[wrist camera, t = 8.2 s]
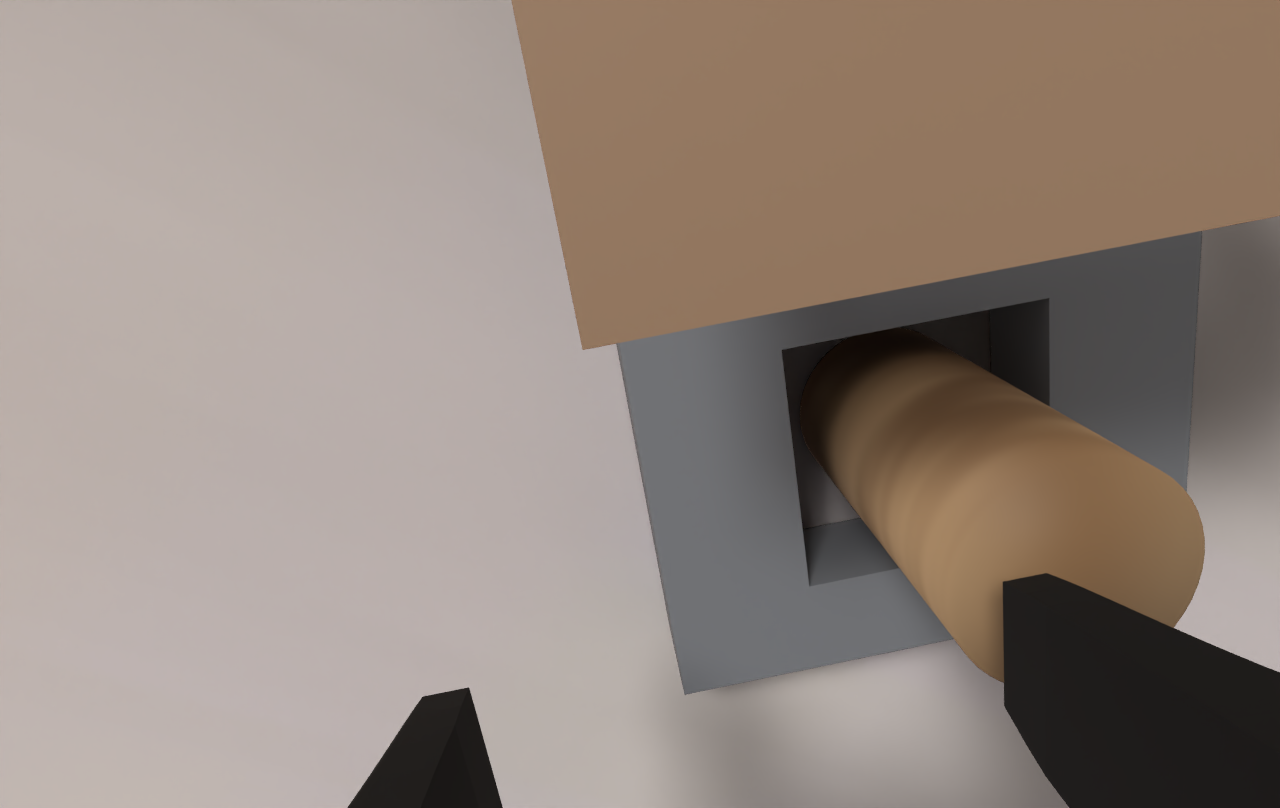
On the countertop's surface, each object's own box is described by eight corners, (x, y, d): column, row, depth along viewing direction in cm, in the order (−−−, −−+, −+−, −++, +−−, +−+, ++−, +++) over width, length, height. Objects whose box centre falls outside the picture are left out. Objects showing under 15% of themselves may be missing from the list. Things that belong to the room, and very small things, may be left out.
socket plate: (1131, 537, 22) (1700, 948, 11) (651, 635, 21) (748, 1163, 10) (1156, -171, 16) (2337, -753, 5) (514, -58, 16) (418, -447, 5)
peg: (956, 312, 19) (1213, 433, 12) (962, 466, 21) (1196, 662, 13) (791, 344, 19) (942, 486, 12) (808, 496, 20) (953, 713, 13)
